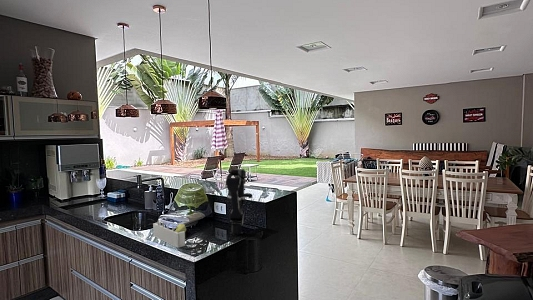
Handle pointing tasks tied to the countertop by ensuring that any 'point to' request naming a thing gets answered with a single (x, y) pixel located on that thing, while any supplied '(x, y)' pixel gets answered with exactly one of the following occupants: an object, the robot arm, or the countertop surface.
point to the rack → (168, 235)
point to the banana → (180, 228)
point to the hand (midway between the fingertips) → (240, 209)
